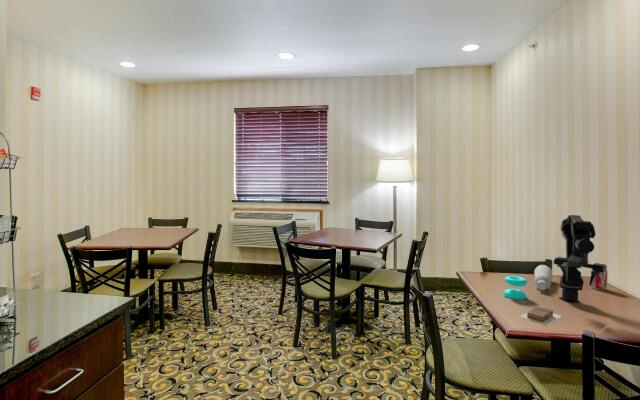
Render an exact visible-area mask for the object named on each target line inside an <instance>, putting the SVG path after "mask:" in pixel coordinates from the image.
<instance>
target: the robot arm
mask: <svg viewBox="0 0 640 400" xmlns="http://www.w3.org/2000/svg"><path fill="white" fill-rule="evenodd" d="M560 232H561V235H562V237H563V239H564V240H565V257H562V256H557V257H555V258H554V259H553V265H556V267H559V269H560V270H561V272H562V275H561V276H560V279H559V287H560V289H562V291H561V293H562V294H561V296H559V297H558V299H560V300H562V301H564V302H565V303H581V300H579V291H583V287H584V284H585V281H584V278H582V272H581V271H580V270H579V269H581V268H587V269H591V271H590V278H589V279H590V280H589V286H590V287H591V285H592V283H593V281H594V280H595V278H596V276H597V275H598V274H600V273H603V272H605V271H607V272H608V270H607V269H608V268H607V267H608V266H607V265H606V264H604V263H599V262H595V263H589V254H590V253H592V252H593V251H594V249H595V243H593V241H592V240H591V239H595V236H596V229H595V226H594V224H592V222H591V221H589V220H584V219H583V218H582V216H581V215H578V214H577V215H575V214H574V215H573V214H569V215H567V217H566V218H564V219H563V220H562V221H561V224H560ZM592 270H593V271H592Z"/></svg>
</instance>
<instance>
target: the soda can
mask: <svg viewBox="0 0 640 400" xmlns="http://www.w3.org/2000/svg"><path fill="white" fill-rule="evenodd" d="M591 271H593V270H592V269H591ZM607 285H608V270H607V271H605V272H603V273H600V274H598V275H597V276H596V278H595V280H594V281H593V283H592V285H591V286H590V287H591V288H592V289H594V290H597V291H605V290H606V289H607Z"/></svg>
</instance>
